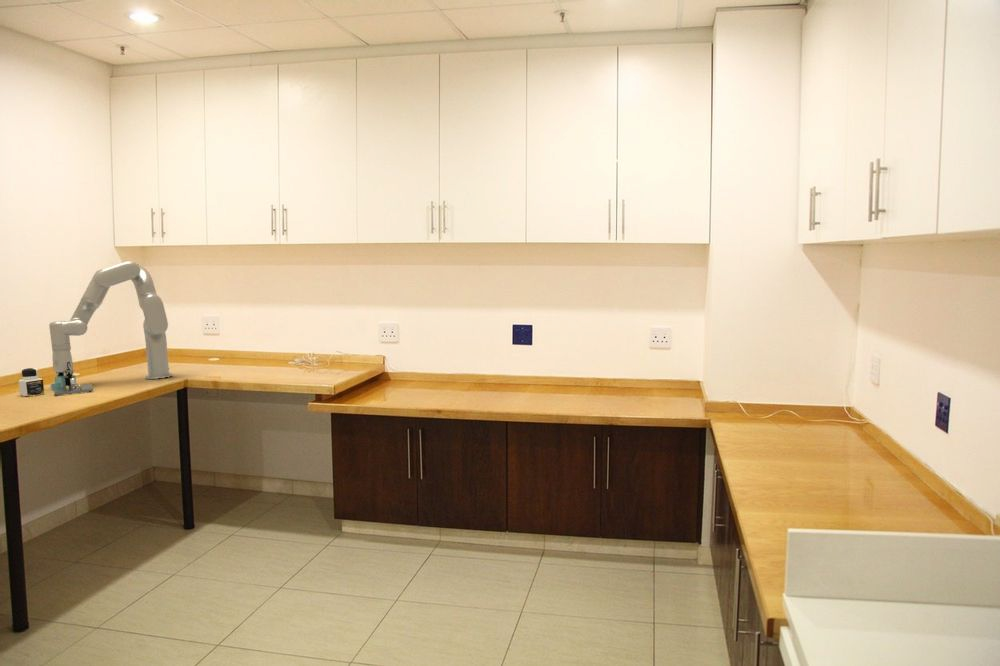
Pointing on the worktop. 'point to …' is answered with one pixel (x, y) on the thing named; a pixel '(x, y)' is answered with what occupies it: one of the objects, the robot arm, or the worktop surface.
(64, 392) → the post base
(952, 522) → the worktop surface
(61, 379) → the teal hollow square block
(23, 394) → the medicine bottle
